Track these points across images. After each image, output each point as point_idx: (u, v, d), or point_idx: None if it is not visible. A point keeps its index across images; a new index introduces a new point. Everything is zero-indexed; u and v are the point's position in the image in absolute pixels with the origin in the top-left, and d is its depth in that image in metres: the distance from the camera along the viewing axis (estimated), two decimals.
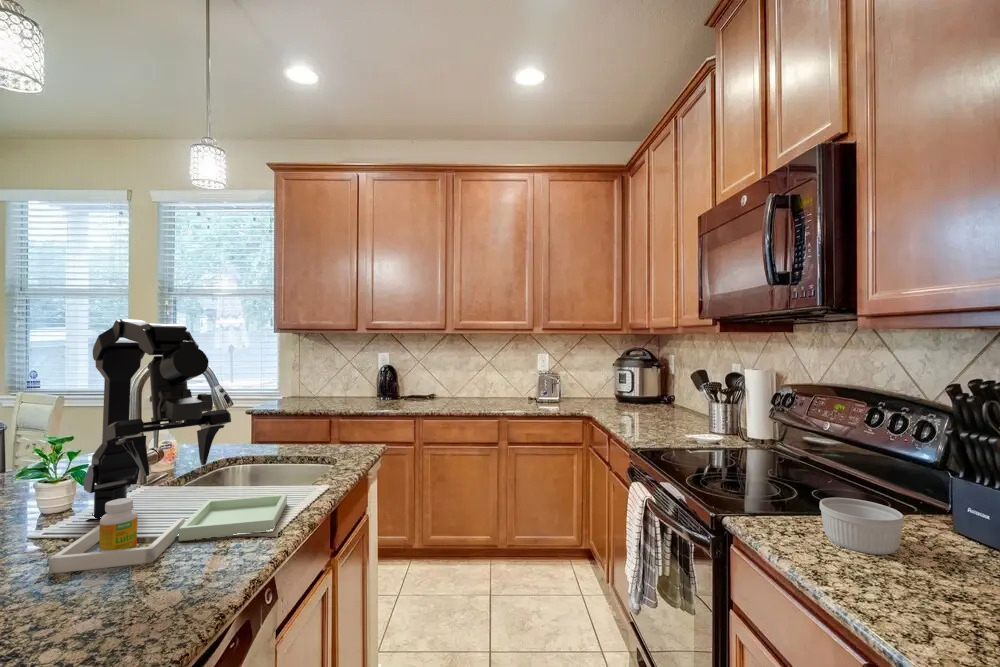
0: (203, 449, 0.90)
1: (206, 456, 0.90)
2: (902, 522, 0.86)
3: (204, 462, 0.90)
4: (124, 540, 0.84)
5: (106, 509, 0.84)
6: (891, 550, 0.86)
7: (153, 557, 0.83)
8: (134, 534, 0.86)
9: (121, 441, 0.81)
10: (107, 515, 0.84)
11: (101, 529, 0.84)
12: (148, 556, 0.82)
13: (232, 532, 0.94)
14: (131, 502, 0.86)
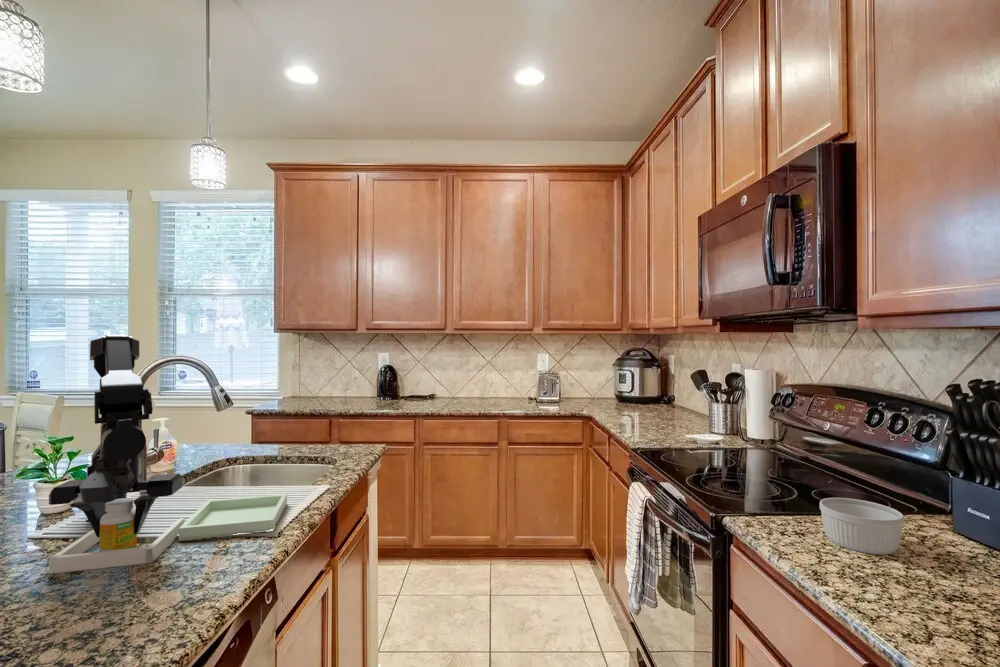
0: None
1: (137, 526, 0.86)
2: (902, 522, 0.86)
3: (135, 532, 0.86)
4: (124, 540, 0.84)
5: (106, 509, 0.84)
6: (891, 550, 0.86)
7: (153, 557, 0.83)
8: (134, 534, 0.86)
9: None
10: (107, 515, 0.84)
11: (101, 529, 0.84)
12: (148, 556, 0.82)
13: (232, 532, 0.94)
14: (131, 502, 0.86)
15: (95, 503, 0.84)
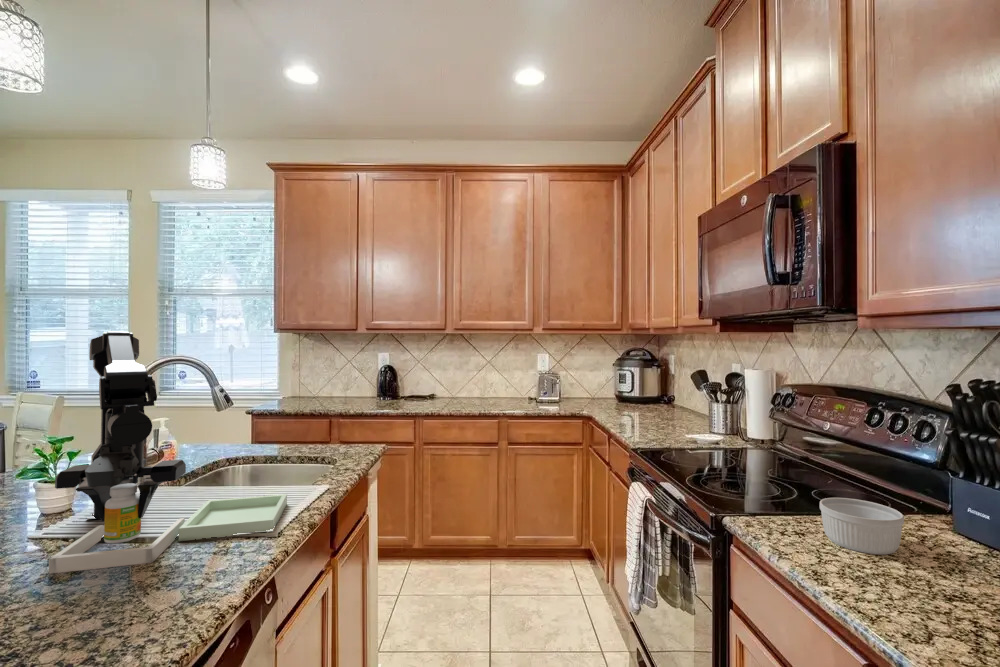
0: None
1: (141, 511, 0.88)
2: (902, 522, 0.86)
3: (139, 516, 0.88)
4: (129, 524, 0.86)
5: (111, 493, 0.86)
6: (891, 550, 0.86)
7: (153, 557, 0.83)
8: (138, 518, 0.88)
9: None
10: (112, 499, 0.86)
11: (106, 513, 0.85)
12: (148, 556, 0.82)
13: (232, 532, 0.94)
14: (135, 487, 0.88)
15: (100, 488, 0.86)
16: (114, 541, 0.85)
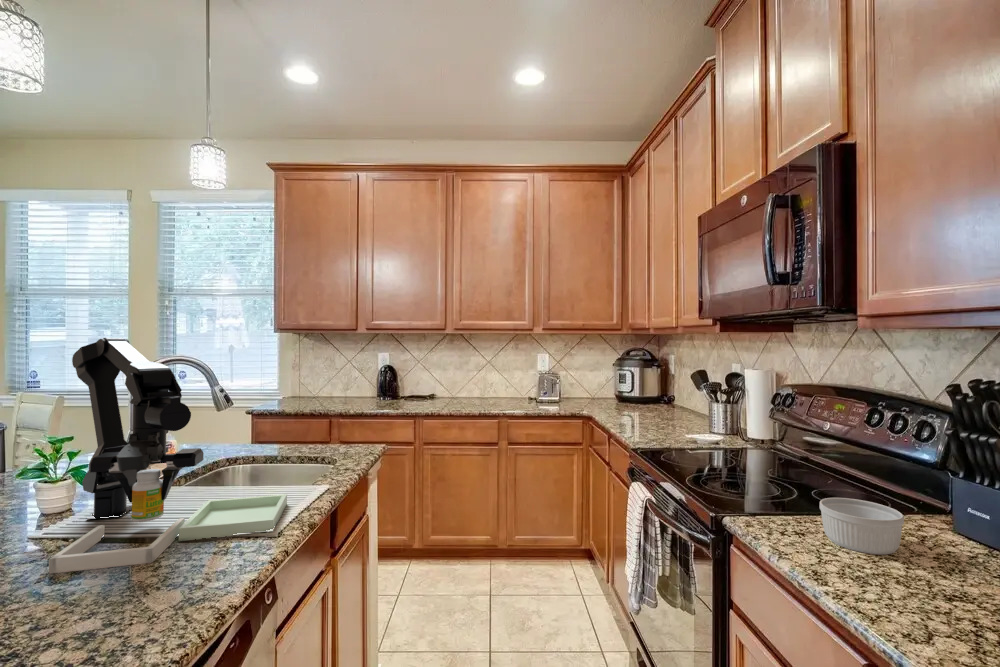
0: None
1: (164, 493, 0.98)
2: (902, 522, 0.86)
3: (162, 498, 0.98)
4: (154, 504, 0.96)
5: (138, 477, 0.96)
6: (891, 550, 0.86)
7: (153, 557, 0.83)
8: (162, 500, 0.98)
9: None
10: (138, 483, 0.96)
11: (133, 495, 0.95)
12: (148, 556, 0.82)
13: (232, 532, 0.94)
14: (159, 472, 0.98)
15: (128, 472, 0.96)
16: (141, 520, 0.95)
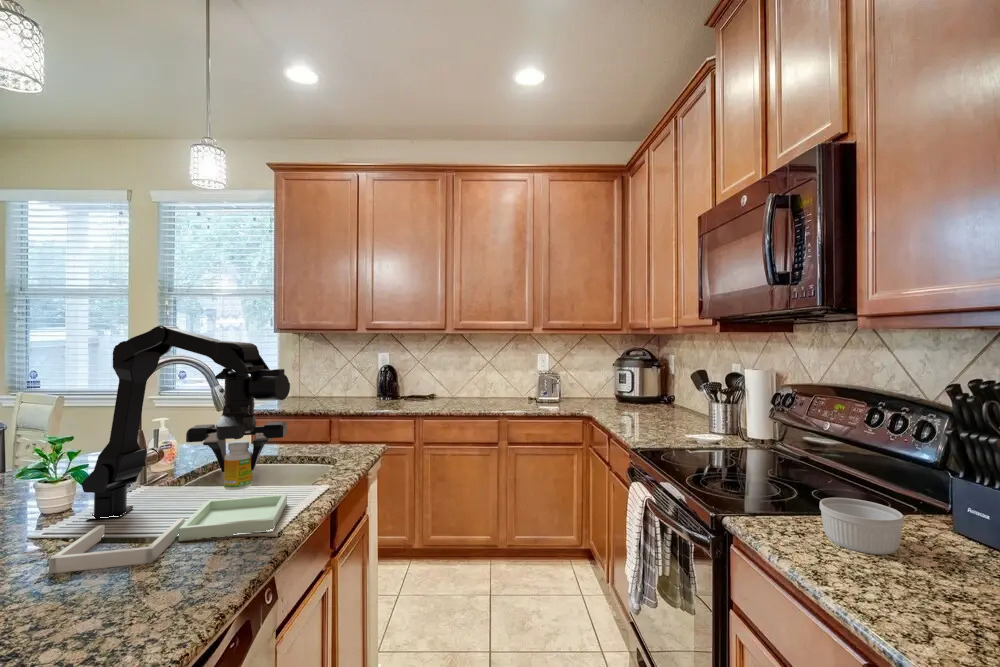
0: None
1: (253, 463, 1.02)
2: (902, 522, 0.86)
3: (252, 468, 1.02)
4: (245, 474, 1.01)
5: (230, 448, 1.00)
6: (891, 550, 0.86)
7: (153, 557, 0.83)
8: (251, 470, 1.02)
9: None
10: (230, 453, 1.01)
11: (226, 464, 1.00)
12: (148, 556, 0.82)
13: (232, 532, 0.94)
14: (248, 443, 1.03)
15: (220, 443, 1.01)
16: (234, 488, 0.99)
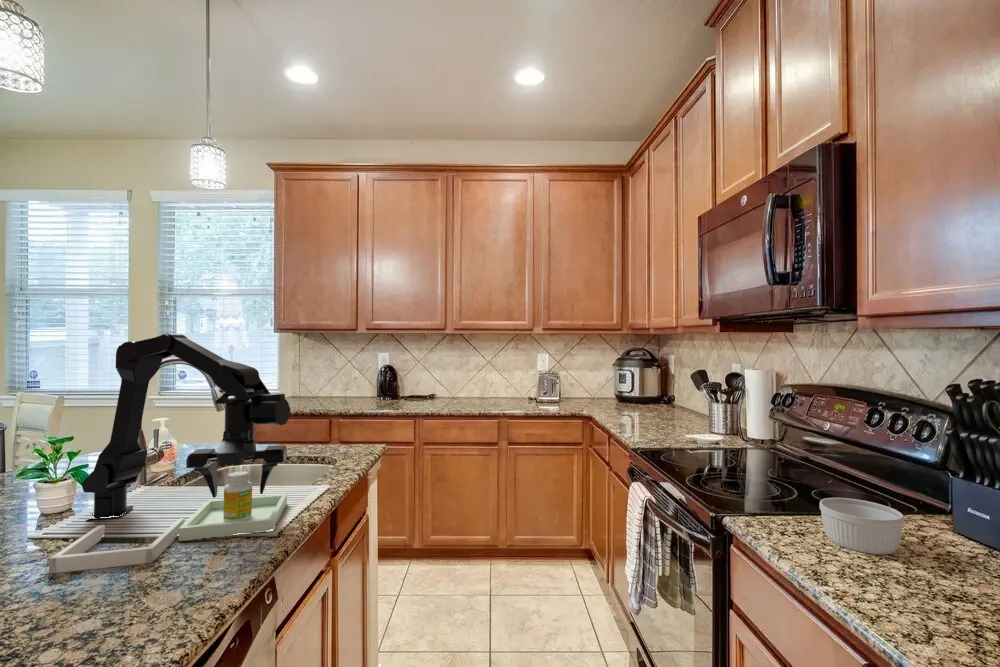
0: (261, 481, 1.03)
1: (262, 487, 1.03)
2: (902, 522, 0.86)
3: (260, 492, 1.03)
4: (244, 505, 1.01)
5: (229, 479, 1.00)
6: (891, 550, 0.86)
7: (153, 557, 0.83)
8: (251, 501, 1.02)
9: None
10: (230, 485, 1.00)
11: (226, 496, 1.00)
12: (148, 556, 0.82)
13: (232, 532, 0.94)
14: (248, 474, 1.03)
15: (211, 468, 1.00)
16: (233, 520, 0.99)
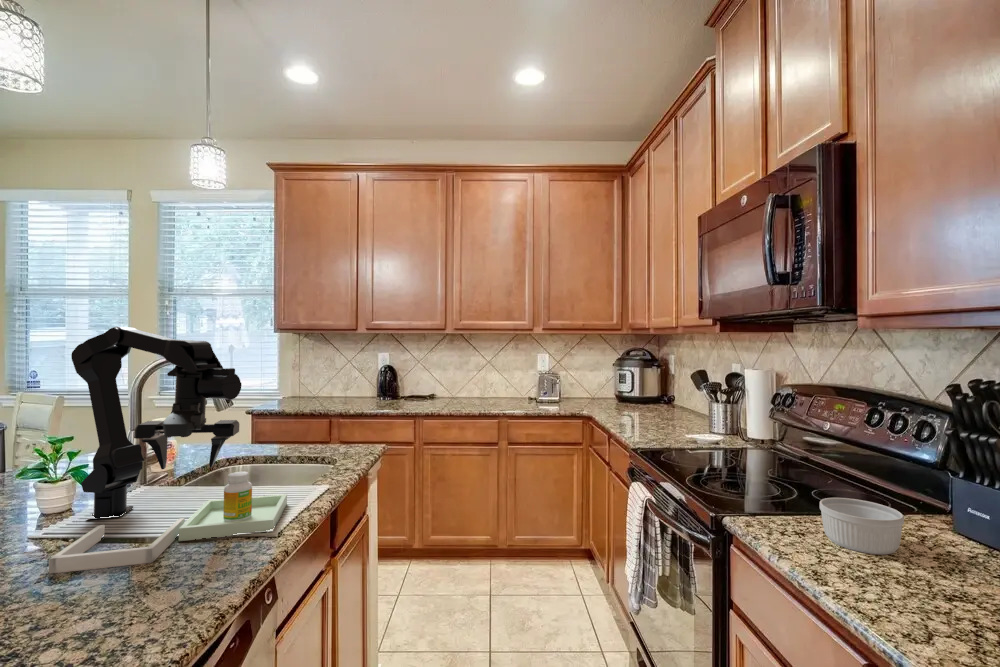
0: None
1: (211, 461, 1.03)
2: (902, 522, 0.86)
3: (210, 465, 1.03)
4: (244, 505, 1.01)
5: (229, 480, 1.00)
6: (891, 550, 0.86)
7: (153, 557, 0.83)
8: (250, 501, 1.02)
9: None
10: (230, 485, 1.00)
11: (226, 496, 1.00)
12: (148, 556, 0.82)
13: (232, 532, 0.94)
14: (248, 474, 1.03)
15: (160, 440, 1.01)
16: (233, 520, 0.99)
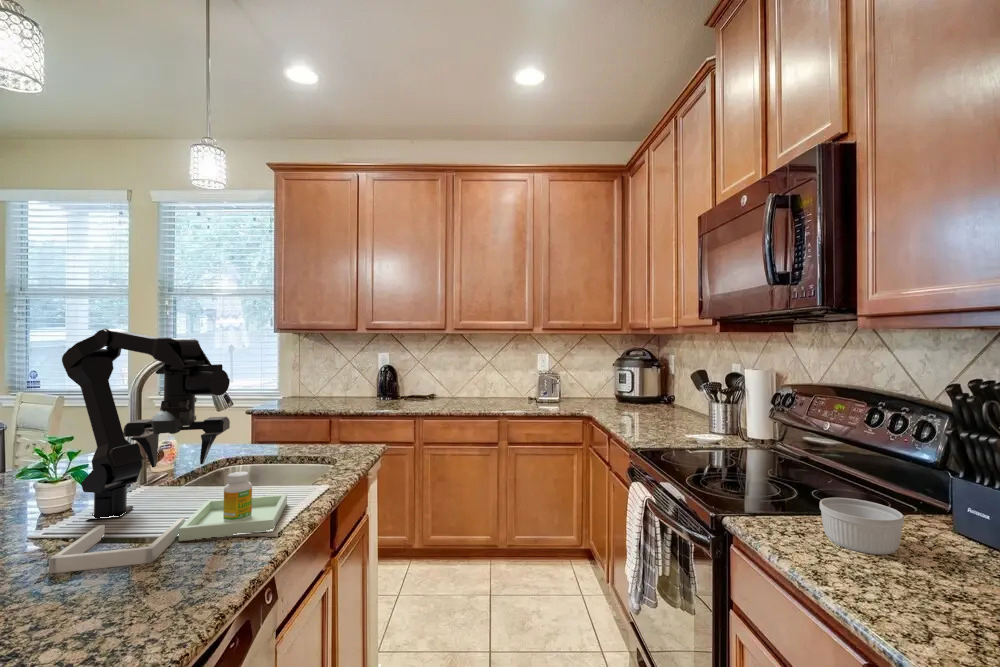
0: None
1: (202, 458, 1.03)
2: (902, 522, 0.86)
3: (201, 462, 1.03)
4: (244, 505, 1.01)
5: (229, 480, 1.00)
6: (891, 550, 0.86)
7: (153, 557, 0.83)
8: (250, 501, 1.02)
9: None
10: (230, 485, 1.00)
11: (226, 496, 1.00)
12: (148, 556, 0.82)
13: (232, 532, 0.94)
14: (248, 474, 1.03)
15: (150, 438, 1.01)
16: (233, 520, 0.99)
